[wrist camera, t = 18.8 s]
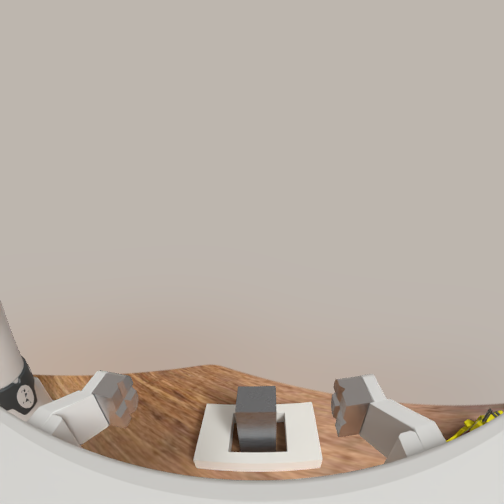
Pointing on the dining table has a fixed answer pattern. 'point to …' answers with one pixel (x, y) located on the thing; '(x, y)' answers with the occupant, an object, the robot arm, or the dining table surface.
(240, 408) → the grey metal block
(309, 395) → the dining table surface
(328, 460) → the dining table surface
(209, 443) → the white rectangular frame
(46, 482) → the robot arm
